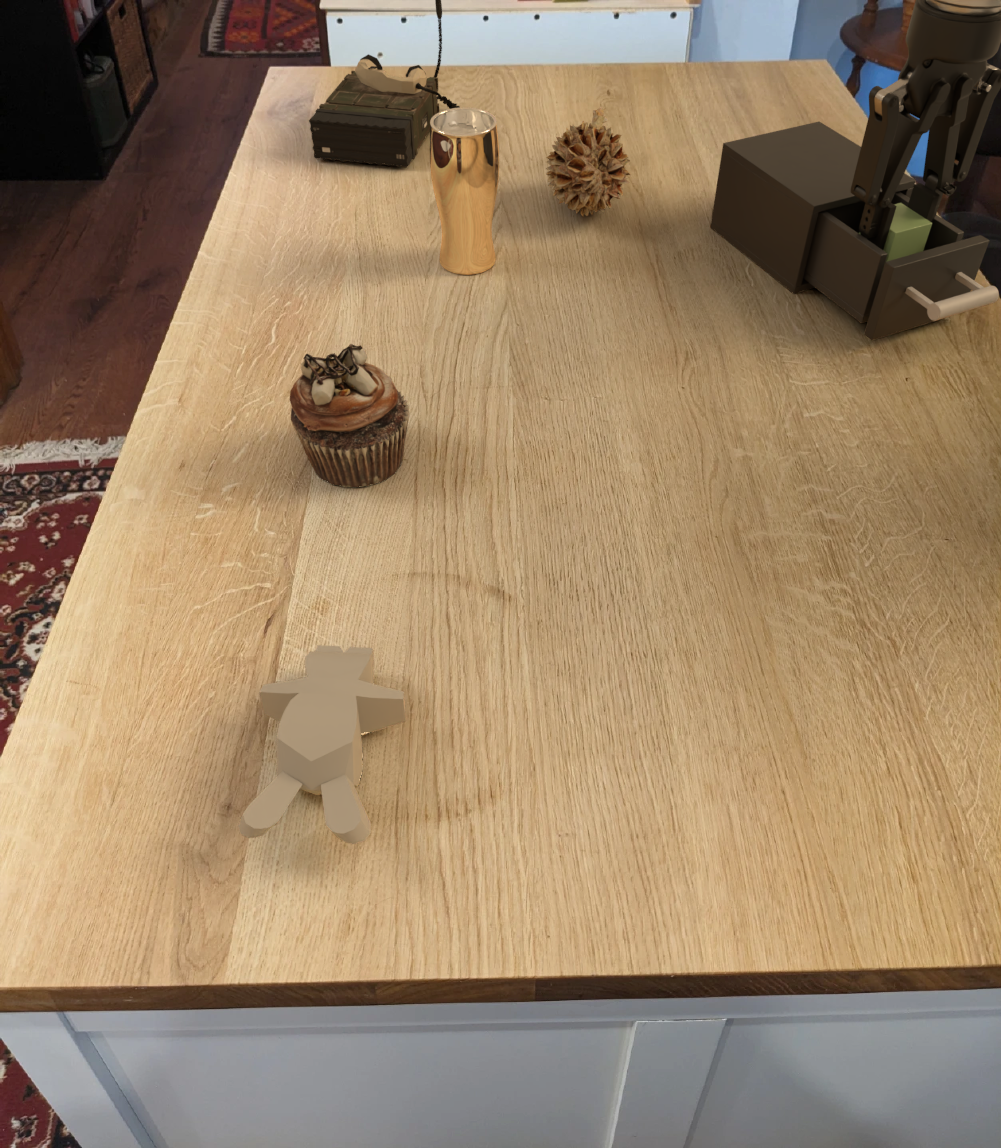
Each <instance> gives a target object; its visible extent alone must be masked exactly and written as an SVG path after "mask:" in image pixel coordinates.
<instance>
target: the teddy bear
mask: <svg viewBox="0 0 1001 1148" xmlns="http://www.w3.org/2000/svg"><path fill="white" fill-rule="evenodd" d="M316 645H317V646H316V648H315V650H313V651H309V652H308V653H307V654H306V655H305V656H304V657H305V658H304V668H305V673H306V677H301V678H295V679H290V680H285V681H283V680H282V681H278V682H272V683H265V684H262V686H261V688H260V690H259V692H258V693H259V697H260V698H259V699H260V702H261V707H262V711H263V715H264V716H266V717H269V718H271V719H273V720H275V721H277V722H279V724H278V729H277V733H276V777H275V778H274V779H273V780H272V781H271V782H270V783H268V785H267V786H266V787H265V788H264V789H263V790H262V791H261V792H260V793H259V794H258V795H257V796H256V797H254V799H253V800H252V801H251V802H250V803H249V804H248V805H247V807H246V809H245V810H244V811H243V813H242V815H241V817H240V820H239V823H238V824H237V827H238V831H239V834H240V835H241V836H243V837H245V838H247V839H254V838H255V839H256V838H259V837H262V836H264V835H266V833H268V832H269V831H270V830H271V829H272V828H273V827H274V826H275V825H277V823H279V821H280V820H281V818H282V817H283V815H284V814H285V812H286V811H287V809H288V807H289V806H290V804H291V803H292V802H293V800H294V798H295V797H296V795H297V794H298V792H299V790H302V791H304V792H307V793H310V794H313V795H314V796H320V795H321V799H322V808H323V814H324V815H323V816H324V822H325V823H324V824H325V826H326V827H327V828H328V829H329V831H331V833H333V835H335V836H336V838H338V839H339V840H340V841H342V842H344V843H345V844H346V843H347V844H351V845H356V844H359V843H363V842H365V841H366V840H367V839H368V838H369V836H370V835H371V834H372V822H371V820H370V818H369V816H368V813H367V811H366V808H365V806H364V805H363V802H362V800H361V798H360V795H359V793H358V790H357V788H358V784H359V779H360V776H361V772H362V747H363V739H362V736H361V733H364V732H372V733H374V731H375V732H378V731H381V730H384V729H388V728H390V727H393V726H397V725H399V724H402V723H405V722H406V712H407V711H406V702H405V701H406V700H405V691H403V690H400V689H395V688H391V687H388V686H383V685H379V684H376V683H374V684H373V679H374V680H375V676H374V675H375V674H374V673H375V671H374V670H375V669H374V668H375V655H374V648H373V647H366V646H365V647H364V646H363V647H362V646H349V647H348V648H347V649H346V650H344V651H343V649H342V647H341V646H340V645H322V644H316ZM362 773H363V772H362ZM359 785H360V784H359Z"/></svg>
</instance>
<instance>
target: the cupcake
mask: <svg viewBox="0 0 1001 1148" xmlns="http://www.w3.org/2000/svg"><path fill="white" fill-rule="evenodd" d="M367 360H368V353H367V352H366V350H365V348H364V347H362V345H355V344H353V343H349V345H348V346H346V347H345V348H343V349H341V351H340V353H339V354H338V355H337V354H336V353H335V352H334V353H333V352H332V353H329V354H327V355H326V357H320V356H313V355H311V354H310V353H306V354H305V355H304V356H303V361H302V363H301V364H300V365H301V366H300V371H301V375H300V376H299V377H298V378H297V380H296V381H295V382H294V383H293V385H292V387H291V389H290V391H289V403H290V406H291V410H290V421H291V423H292V427H293V429H294V431H295V432H296V435H297V438H298V439H299V441H300V443H301V445H302V449H303V450H304V453H305V455H306V457H307V458H308V461H309V463H310V465H311V467H312V468H313V471H314V472H315V474H316V475H317V476H318V477H319V479H321V480H322V479H323V481H324V480H326V481H328V482H329V483H328V482H327V483H328V484H330V483H331V484H330V485H332V484H334V485H333V486H335V485H338V486H337V487H341V486H344V487H343V488H347V487H358V488H360V487H359V486H367V487H370V486H371V485H370V484H373V485H376V484H375V483H378V484H380V483H383V482H384V480H385V481H386V480H388V479H389V478H391V477H392V476H394V475H395V474H396V473H397V471H398V470H399V469H400V467H401V466H402V463H403V461H404V455H405V454H404V453H405V444H406V438H407V433H408V426H409V419H410V412H411V411H410V406H409V404H408V400H407V399H405V397H406V396H405V395H402V392H401V391H399V390H398V388H397V386H396V385H395V383H394V382H393V379H392V377H390V375H388V374H387V373H386V371H384V370H382V369H381V368H380V367H378V366H376V365H375V364H371V363H368V362H367ZM395 472H396V473H395ZM326 481H325V482H326ZM382 481H383V482H382ZM379 482H380V483H379ZM339 485H341V486H339ZM369 485H370V486H369Z"/></svg>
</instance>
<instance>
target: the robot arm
mask: <svg viewBox="0 0 1001 1148" xmlns="http://www.w3.org/2000/svg"><path fill="white" fill-rule="evenodd" d="M905 44H906V47H907V53H908V55H907V59H906V62H905V64H904V65H903V67H902V69H901V70H900V72H899V74H898V76H897V80H896V81H894V82H893V83H891V84H889V85H887V87H885V88H883V87H882V86H880V85H875V86H873V87H872V88H871V89H870V91H869V93H868V110H869V111H868V113H869V114H868V117H867V122H866V126H865V130H864V134H863V138H862V141H861V145H860V146H861V150H860V154H859V158H858V162H857V166H856V170H855V174H854V178H853V182H852V186H851V193H852V194H853V195H855V196H856V197H857V198H859V199H860V200H862V201H863V202H865V206H864V210H863V214H862V218H861V222H860V225H859V232H860V233H861V234H860V235H862V236H863V237H864V238H866V239H867V240H869V241H870V242H872V243H873V244H875V245H876V246H877V247H879V248H880V249H882V250H883V249H884V246H885V243H886V239H887V236H888V233H889V230H890V227H891V224H892V220H893V217H894V214H895V210H896V207H897V206H895V205H894V204H892V203H891V201H892V199H893V197H894V194H895V192H896V190H897V188H898V186H899V184H900V181H901V179H902V177H903V175H904V173H905V172H906V170H907V168H908V166H909V164H910V162H911V160H912V158H913V155H914V153H915V152H916V150H917V149H916V148H917V147H918V146H919V145H918V144H919V142H920V140H921V138H922V136H923V135H924V134H927V133H928V135H927V136H928V137H927V144H926V150H925V157H924V158H925V159H924V168H923V174H922V181H923V182H924V184H923V183H921V182H918V183H915V184H914V187H913V190H912V193H911V197H910V200H909V203H908V206H907V207H908V208H910V209H911V210H913V211H914V212H916V213H918V214H919V215H921V216H922V217H924V218H925V219H927V220H928V221H930V222H931V221H933V220H934V218H935V216H936V215H938V210H939V207H940V204H941V202H942V199H943V195H945V196H948V197H949V196H952V195H953V194H954V193H955V191H956V190H957V186H956V185H954V184H953V183H954V182H958V183H961V182H964V180H965V179H966V178H967V176H968V175H969V172H970V168H971V165H972V163H973V160H974V157H975V155H976V152H977V148H978V145H979V142H980V140H981V136H982V135H983V132H984V129H985V126H986V123H987V121H988V117H989V116H990V115H989V114H990V112H991V109H992V106H993V103H994V100H995V99H996V97H997V95H998V94H999V92H1000V91H1001V68H999V67H997V66H994V65H992V64H990V63H988V60H990V59H992V58H993V57H994V56H995V55H996V54H997V53H998V51H999V49H1000V46H1001V0H915V2H914V5H913V9H912V12H911V17H910V21H909V24H908V28H907V31H906V35H905ZM955 161H958V163H957V162H955ZM905 174H906V173H905ZM881 189H882V190H881Z"/></svg>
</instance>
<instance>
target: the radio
mask: <svg viewBox="0 0 1001 1148" xmlns="http://www.w3.org/2000/svg"><path fill="white" fill-rule="evenodd" d="M434 2H435V4H434V5H435V13H436V16H437V26H438V27H437V29H438V30H437V31H438V40H437V41H438V52H437V53H438V55H437V63H436V67H435V71H434V75H433V76H429V77H427V73H426V72H425V70H424V69H423V68H422V67H421V65H420V64H417V65H412V66H409V67H408V69H407V71H406V73H405V76H399V75H393V74H389V73H388V72H387V71H385V70H384V69H383V68H384V67H383V66H382V64H381V62H380V61H379V59H378V58H377V57H375V56H373V55H371V54H369V53H368V54H367V55H365V56H363V57H361V58H360V59H359V61H358V63H357V65H356V67H355V69H354V70H351V71H350V73H347V74H346V75H345V76H344V78H343V79H342V80H341V82H340V83H339V84H338V85H337V86H336V88H335V89H334V90H333V91H332V92H331V93H330V95H329V96H328V97H327V98H326V100H325V102H324V103H320V104H319V105H318V108H317V109H315V113H314V114H312V116H311V118H309V120H308V122H309V124H310V127H309V130H310V133H311V141H312V150H313V152H314V153H313V158H314V159H316V160H317V159H321V160H324V161H325V160H331V161H337V160H338V161H340V162H341V163H342V162H349V163H354V162H355V163H359V164H363V163H365V164H366V163H367V164H369V165H373V164H376V165H378V166H381V165H382V166H383V165H385V166H388V167H390V166H395V167H398V168H400V167H403V168H408V167H409V166H410V164H411V162H412V161H413V160H415V158H416V156H418V154H419V153H418V149H420V148H421V146H422V145H423V143H424V142H425V140H426V139H427V138H426V137H428V135H429V134H430V120H431V118H432V117H433V116H434V115H435V114H437V113H439V112H441V111H440V110H441V109H440V103H438V102H439V101H440V102H442V104H443V105H446V107H447V108H448V109H452V108H461V106H460V105H457V104H458V103H454V102H452V100H451V99H450V98H448V97H447V96H445V95H441V93H439V77H438V76H439V75H438V74H439V72H440V68H441V64H442V54H443V52H442V51H443V34H442V32H443V29H442V18H443V5H442V0H435V1H434Z"/></svg>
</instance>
